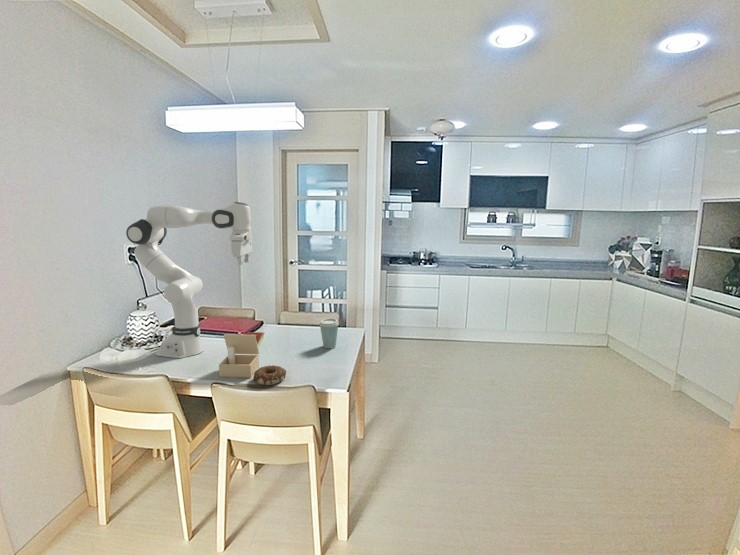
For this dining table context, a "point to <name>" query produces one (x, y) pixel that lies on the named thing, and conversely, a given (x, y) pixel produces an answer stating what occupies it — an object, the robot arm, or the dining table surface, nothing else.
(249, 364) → the box
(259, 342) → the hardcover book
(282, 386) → the dining table surface
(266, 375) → the donut
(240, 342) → the lid
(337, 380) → the dining table surface
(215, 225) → the robot arm
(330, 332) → the disposable coffee cup
